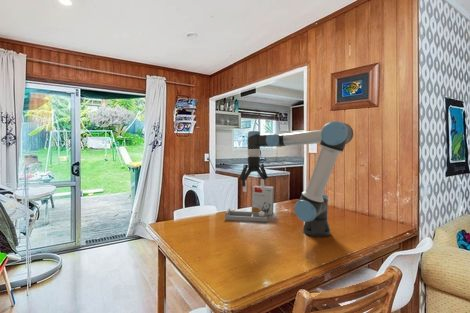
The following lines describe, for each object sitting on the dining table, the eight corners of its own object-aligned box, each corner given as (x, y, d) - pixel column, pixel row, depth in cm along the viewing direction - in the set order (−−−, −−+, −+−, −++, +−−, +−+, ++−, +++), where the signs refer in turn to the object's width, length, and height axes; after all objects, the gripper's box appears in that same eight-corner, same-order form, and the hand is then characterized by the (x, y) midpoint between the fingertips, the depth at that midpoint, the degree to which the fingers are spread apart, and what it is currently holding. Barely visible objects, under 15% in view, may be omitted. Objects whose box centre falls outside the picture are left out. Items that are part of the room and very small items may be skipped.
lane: (267, 216, 182) (267, 209, 182) (267, 222, 168) (267, 214, 168) (228, 214, 186) (228, 208, 186) (225, 220, 173) (225, 213, 172)
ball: (264, 216, 177) (264, 210, 177) (264, 217, 173) (264, 211, 173) (258, 215, 178) (258, 210, 178) (258, 217, 174) (258, 211, 174)
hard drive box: (251, 213, 191) (251, 186, 190) (253, 210, 198) (253, 185, 198) (272, 215, 187) (272, 187, 186) (273, 212, 194) (274, 186, 193)
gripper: (265, 155, 168) (265, 188, 168) (233, 156, 154) (233, 191, 155) (273, 156, 161) (273, 189, 162) (240, 156, 148) (240, 193, 148)
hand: (253, 190), depth 158 cm, fingers open, 13 cm apart
